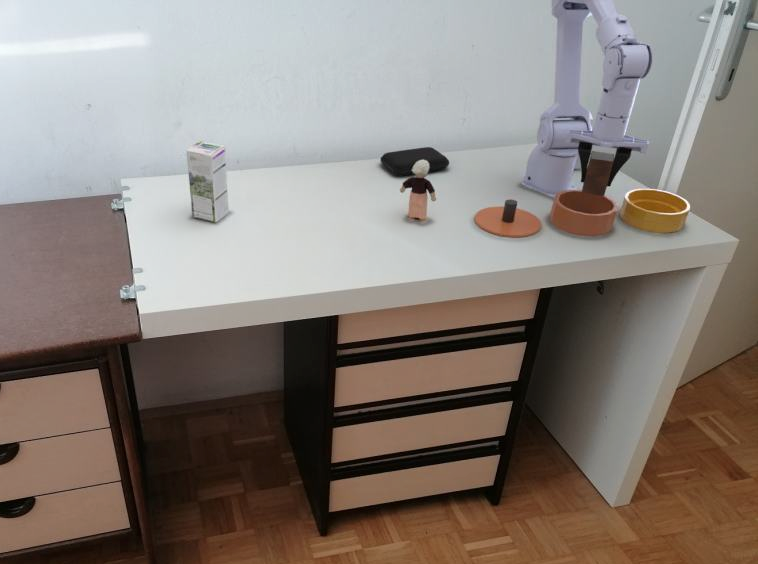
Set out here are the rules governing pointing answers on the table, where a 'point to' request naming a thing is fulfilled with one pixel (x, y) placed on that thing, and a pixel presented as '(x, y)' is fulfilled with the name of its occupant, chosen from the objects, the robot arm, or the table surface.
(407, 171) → the carrying case
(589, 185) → the walnut block
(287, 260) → the table surface
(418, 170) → the grandmother figurine
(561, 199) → the pot
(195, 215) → the syrup box
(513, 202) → the lid
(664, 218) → the bowl
